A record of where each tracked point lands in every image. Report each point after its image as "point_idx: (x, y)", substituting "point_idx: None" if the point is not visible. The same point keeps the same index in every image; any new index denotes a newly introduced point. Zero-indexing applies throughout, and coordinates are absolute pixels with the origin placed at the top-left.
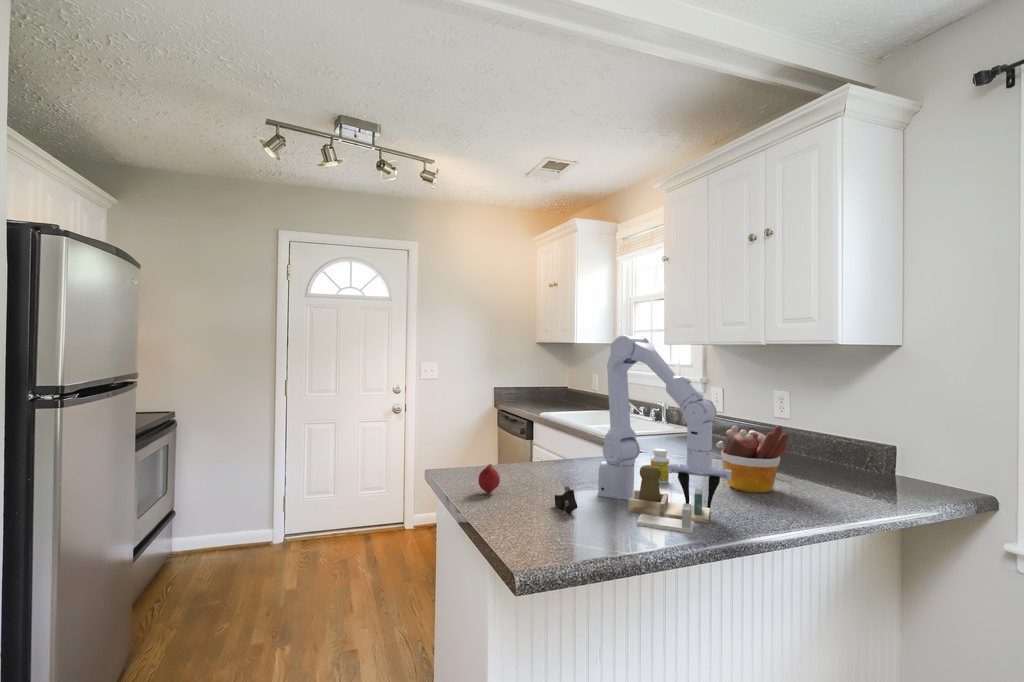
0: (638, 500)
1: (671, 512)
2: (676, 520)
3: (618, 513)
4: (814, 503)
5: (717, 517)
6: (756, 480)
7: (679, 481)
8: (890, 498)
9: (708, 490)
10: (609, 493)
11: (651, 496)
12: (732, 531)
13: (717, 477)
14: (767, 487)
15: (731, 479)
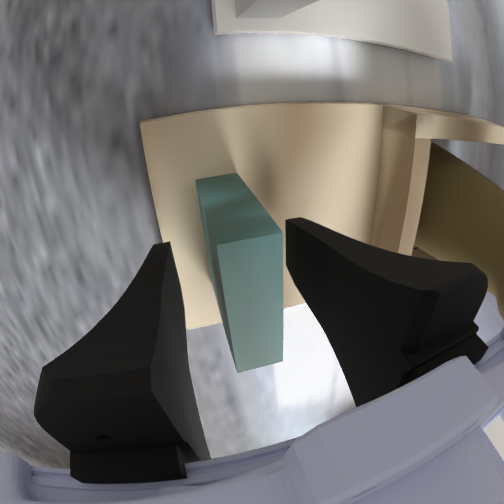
0: (491, 129)
1: (353, 140)
2: (315, 8)
3: (486, 93)
4: (35, 464)
5: (131, 267)
6: None
7: (453, 262)
8: None
9: (160, 307)
10: None
11: (468, 177)
12: (18, 92)
13: (91, 468)
14: None
15: None
